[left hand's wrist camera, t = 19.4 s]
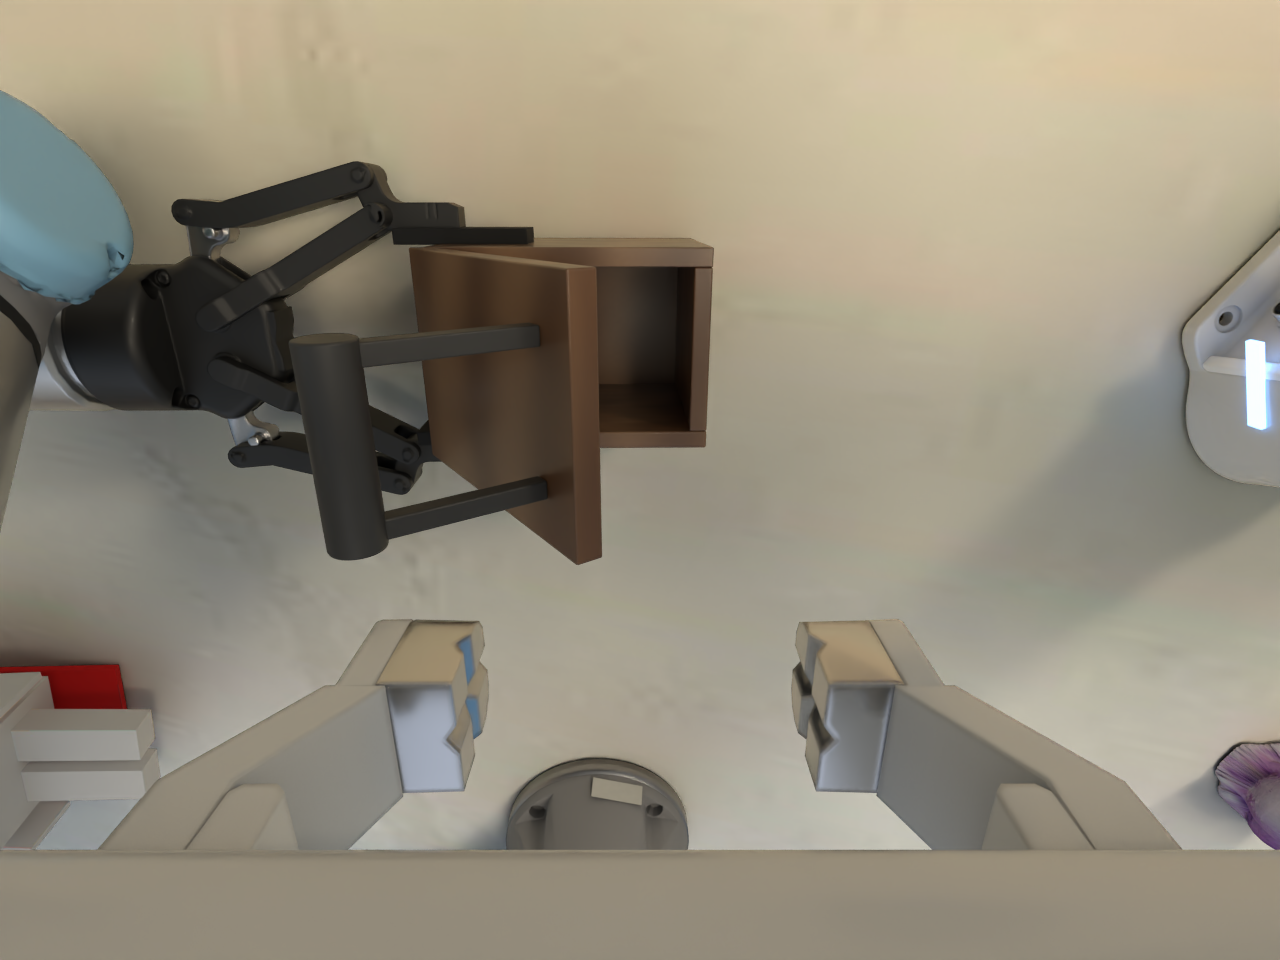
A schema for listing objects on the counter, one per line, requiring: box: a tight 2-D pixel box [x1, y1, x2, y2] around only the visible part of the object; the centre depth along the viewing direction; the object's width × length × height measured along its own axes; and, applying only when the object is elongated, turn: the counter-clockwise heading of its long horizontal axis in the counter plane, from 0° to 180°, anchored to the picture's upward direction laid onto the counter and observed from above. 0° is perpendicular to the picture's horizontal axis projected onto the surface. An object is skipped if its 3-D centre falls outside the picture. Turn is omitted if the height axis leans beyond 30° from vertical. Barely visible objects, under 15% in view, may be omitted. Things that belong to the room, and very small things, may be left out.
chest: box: [427, 238, 714, 448], centre depth 38 cm, size 13×10×11 cm
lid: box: [289, 247, 602, 565], centre depth 25 cm, size 14×10×8 cm
